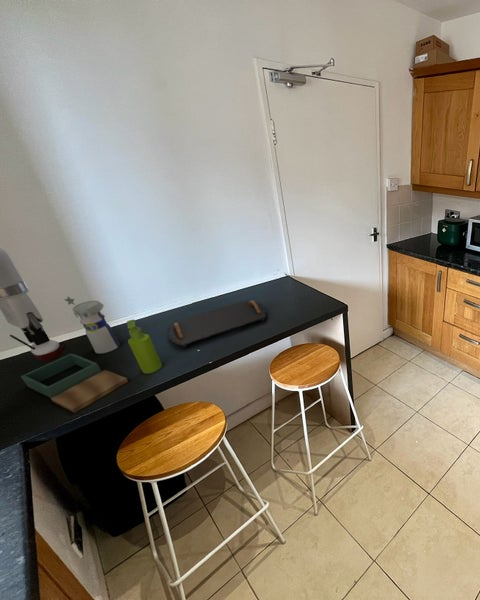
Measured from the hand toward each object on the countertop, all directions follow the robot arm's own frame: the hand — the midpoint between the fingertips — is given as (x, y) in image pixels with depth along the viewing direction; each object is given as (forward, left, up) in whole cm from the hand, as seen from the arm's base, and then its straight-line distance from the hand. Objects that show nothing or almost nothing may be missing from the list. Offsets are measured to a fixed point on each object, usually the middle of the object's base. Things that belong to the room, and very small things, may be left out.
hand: (39, 341), depth 100 cm
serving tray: (+47, -19, -17) cm, 53 cm away
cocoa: (0, 0, -7) cm, 7 cm away
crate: (0, 0, -16) cm, 16 cm away
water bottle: (+17, +8, -17) cm, 25 cm away
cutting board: (0, -15, -16) cm, 22 cm away
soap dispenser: (+15, -22, -17) cm, 31 cm away
